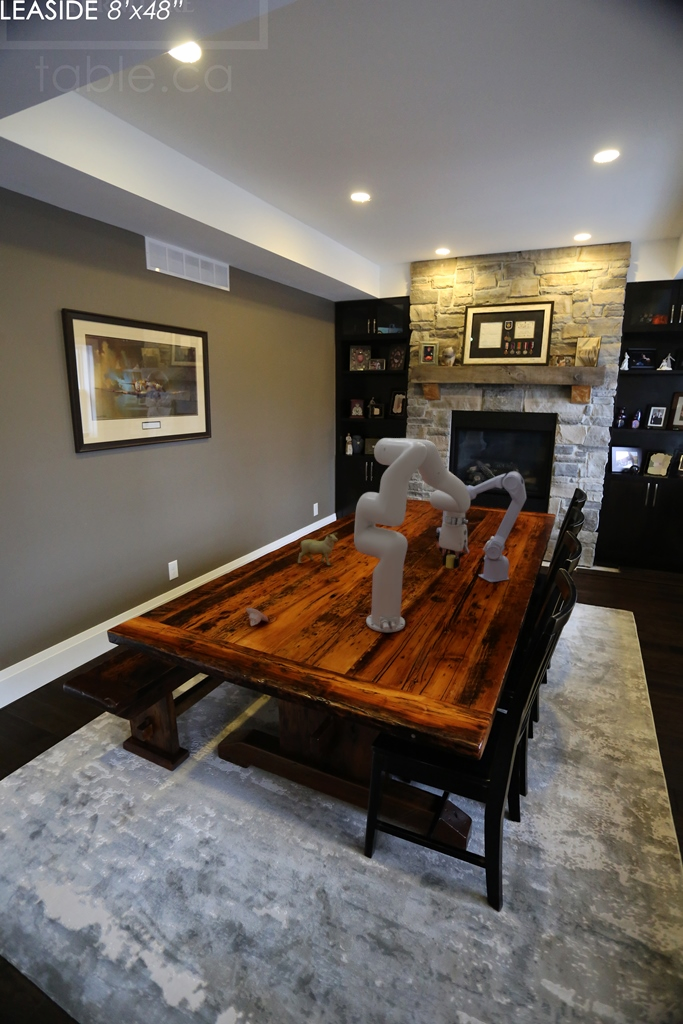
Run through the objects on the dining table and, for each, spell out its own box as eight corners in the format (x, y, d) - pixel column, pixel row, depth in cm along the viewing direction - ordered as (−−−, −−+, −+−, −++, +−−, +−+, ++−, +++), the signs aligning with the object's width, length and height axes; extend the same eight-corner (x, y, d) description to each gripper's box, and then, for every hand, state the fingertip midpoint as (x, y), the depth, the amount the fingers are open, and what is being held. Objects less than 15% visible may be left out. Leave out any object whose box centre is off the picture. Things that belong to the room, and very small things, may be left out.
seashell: (251, 634, 162) (235, 615, 161) (262, 623, 165) (246, 604, 164) (262, 630, 156) (245, 610, 155) (273, 618, 159) (257, 599, 158)
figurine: (481, 562, 222) (483, 536, 219) (482, 556, 230) (484, 531, 227) (499, 564, 220) (501, 538, 217) (499, 558, 228) (501, 533, 225)
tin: (443, 566, 194) (444, 555, 193) (449, 564, 196) (450, 553, 195) (451, 569, 191) (452, 558, 190) (457, 567, 193) (458, 556, 192)
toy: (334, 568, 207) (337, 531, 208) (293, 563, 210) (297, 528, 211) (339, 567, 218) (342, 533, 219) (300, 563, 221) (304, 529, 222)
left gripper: (479, 522, 187) (474, 569, 191) (439, 515, 197) (436, 559, 201) (470, 526, 181) (466, 574, 186) (430, 518, 192) (426, 563, 196)
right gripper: (431, 518, 211) (429, 549, 215) (452, 527, 199) (449, 559, 202) (445, 517, 214) (443, 547, 217) (466, 525, 201) (463, 557, 205)
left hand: (450, 565), depth 193 cm, fingers closed on tin, 3 cm apart
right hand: (447, 553), depth 210 cm, fingers open, 7 cm apart
